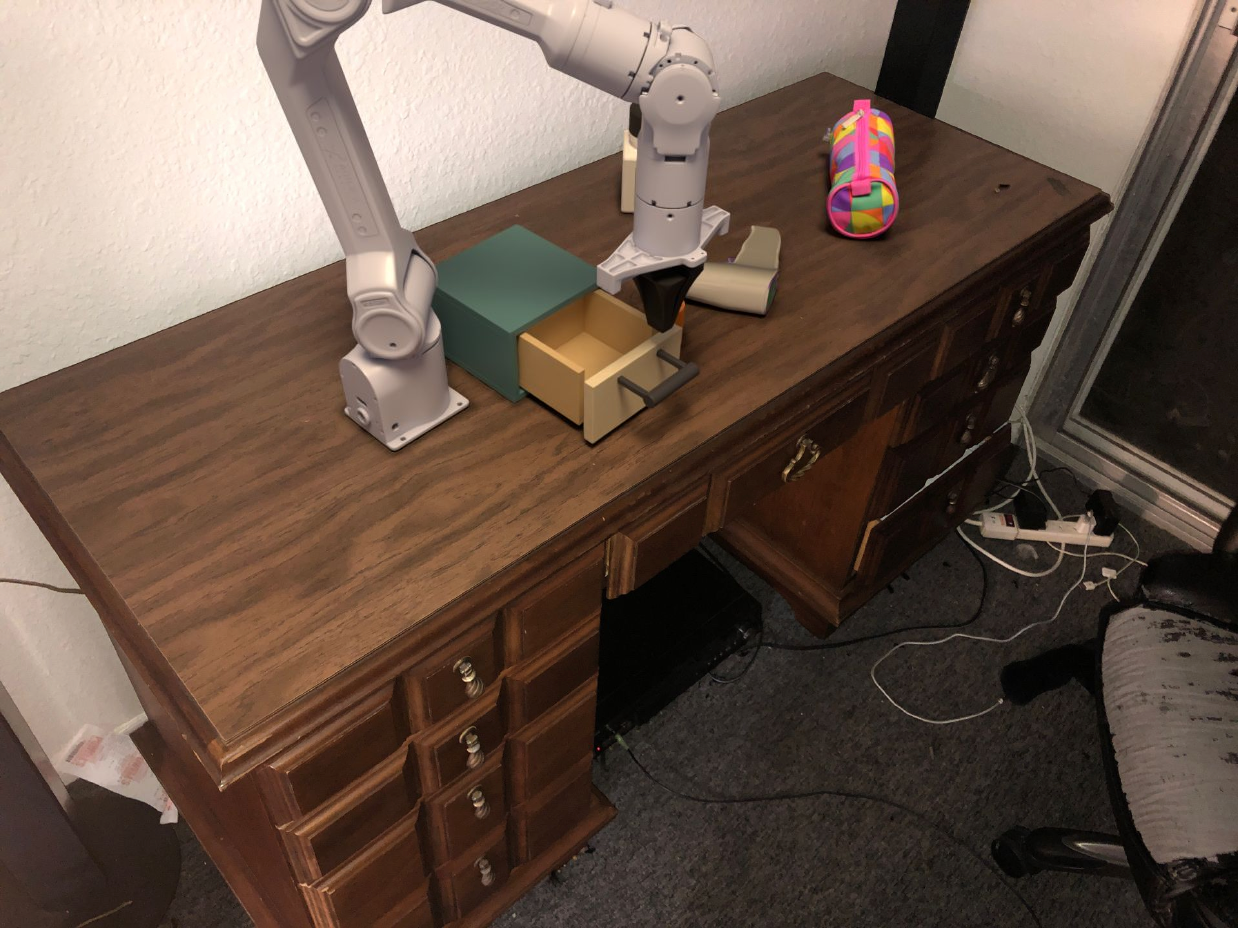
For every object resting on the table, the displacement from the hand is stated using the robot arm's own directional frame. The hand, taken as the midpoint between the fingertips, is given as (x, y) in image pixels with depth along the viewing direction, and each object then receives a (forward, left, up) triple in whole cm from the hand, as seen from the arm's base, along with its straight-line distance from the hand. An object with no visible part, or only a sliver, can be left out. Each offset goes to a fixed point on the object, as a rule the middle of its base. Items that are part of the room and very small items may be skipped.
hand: (659, 326), depth 87 cm
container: (+31, +27, -11) cm, 43 cm away
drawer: (-2, +4, -9) cm, 11 cm away
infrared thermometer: (+24, +9, -11) cm, 28 cm away
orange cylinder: (+9, +7, -10) cm, 16 cm away
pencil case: (+50, +8, -11) cm, 52 cm away
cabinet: (-2, +17, -10) cm, 20 cm away
